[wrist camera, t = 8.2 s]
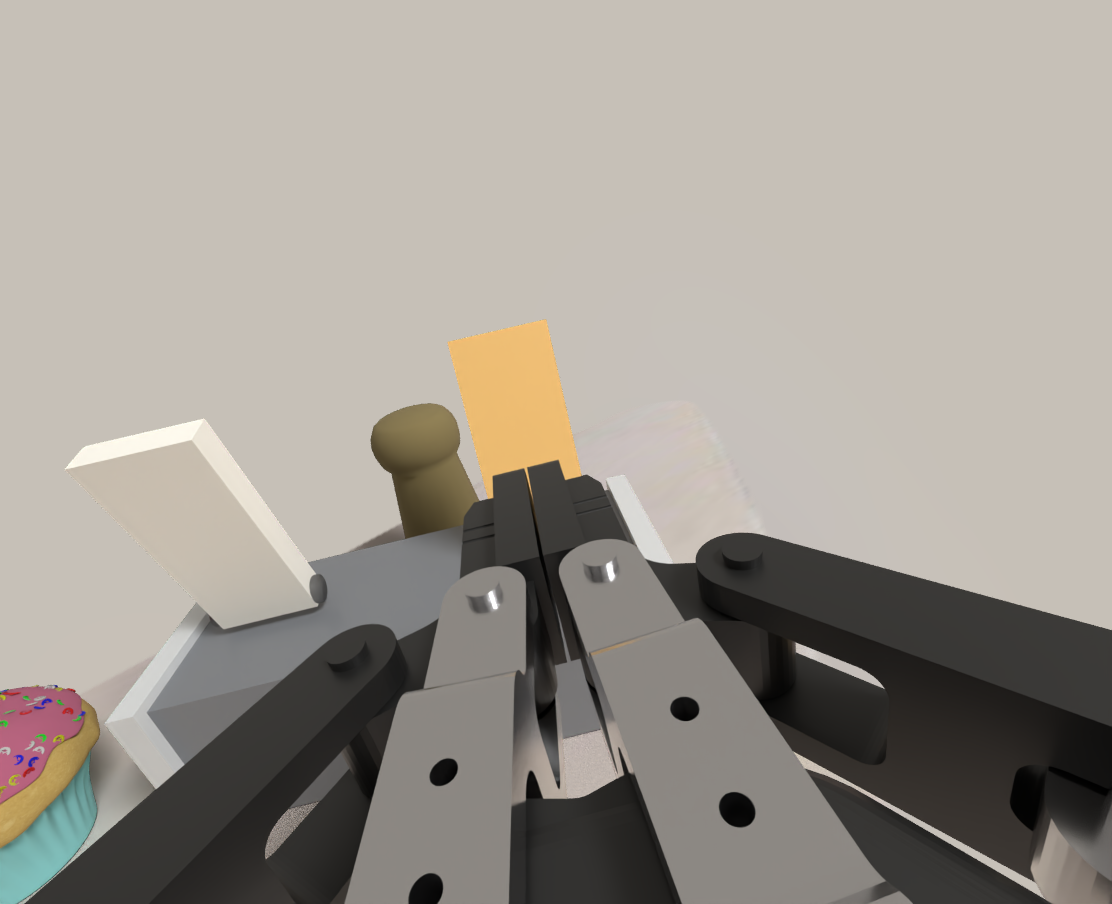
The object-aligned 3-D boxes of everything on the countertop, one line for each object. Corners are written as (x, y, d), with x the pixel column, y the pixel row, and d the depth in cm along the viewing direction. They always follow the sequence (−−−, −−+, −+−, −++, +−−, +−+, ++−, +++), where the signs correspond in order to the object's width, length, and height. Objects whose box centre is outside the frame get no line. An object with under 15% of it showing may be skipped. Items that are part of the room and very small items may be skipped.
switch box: (198, 843, 22) (104, 723, 19) (277, 672, 30) (219, 571, 27) (700, 714, 22) (683, 580, 19) (642, 582, 31) (624, 473, 28)
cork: (437, 537, 40) (388, 398, 35) (513, 534, 38) (472, 387, 33) (397, 593, 34) (334, 437, 30) (483, 592, 33) (430, 427, 28)
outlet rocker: (498, 559, 23) (442, 343, 21) (500, 549, 24) (446, 344, 22) (599, 534, 23) (550, 317, 21) (596, 526, 24) (549, 320, 23)
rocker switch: (221, 633, 23) (58, 471, 17) (229, 609, 23) (77, 448, 18) (324, 607, 23) (197, 438, 17) (329, 585, 24) (210, 417, 18)
